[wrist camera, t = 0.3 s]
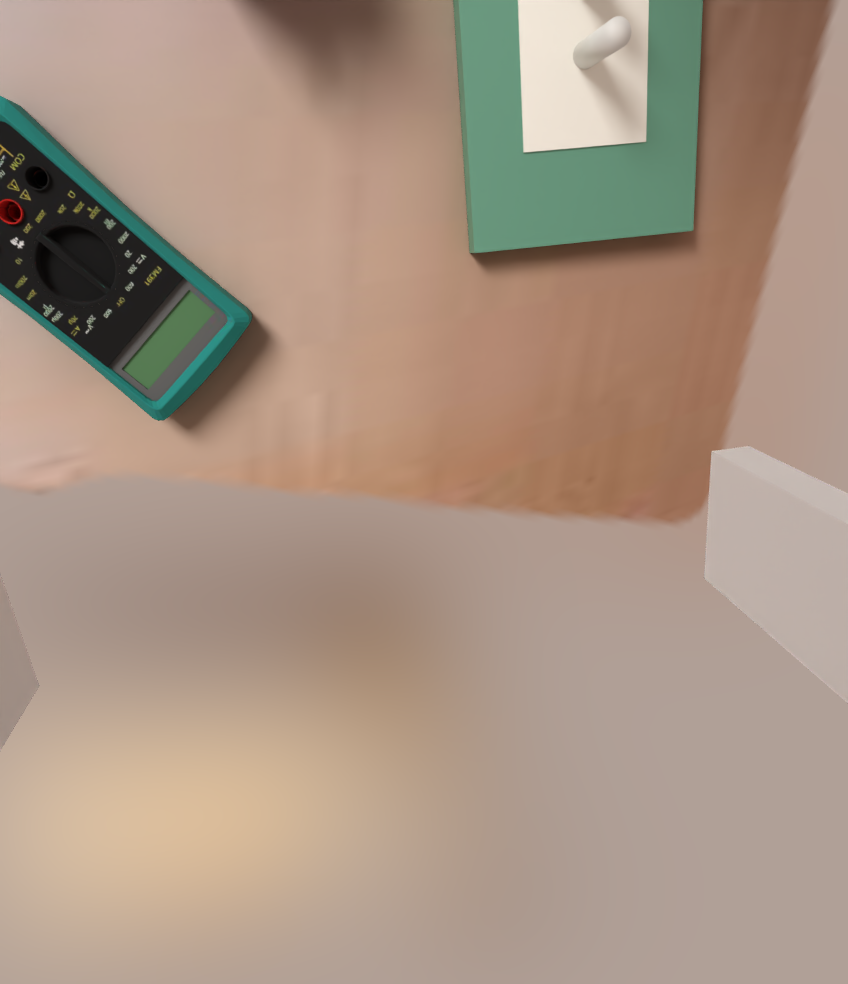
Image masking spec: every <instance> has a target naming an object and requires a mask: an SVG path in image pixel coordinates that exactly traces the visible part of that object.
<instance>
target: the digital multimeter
mask: <svg viewBox="0 0 848 984" xmlns="http://www.w3.org/2000/svg"><path fill="white" fill-rule="evenodd" d="M11 126H12V127H13V128H14V129H13V128H12V127H11ZM19 133H20V134H21V135H22V136H21V135H20V134H19ZM27 140H28V141H29V142H30V143H29V142H28V141H27ZM35 147H36V148H37V149H38V150H37V149H36V148H35ZM43 154H44V155H45V156H46V157H45V156H44V155H43ZM51 161H52V162H53V163H54V164H53V163H52V162H51ZM59 168H60V169H61V170H62V171H61V170H60V169H59ZM67 175H68V176H69V177H70V178H69V177H68V176H67ZM76 183H77V184H78V185H77V184H76ZM84 190H85V191H86V192H85V191H84ZM92 197H93V198H94V199H93V198H92ZM101 205H102V206H101ZM109 212H110V213H109ZM117 219H118V220H117ZM66 221H70V222H66ZM59 222H60V223H59ZM85 224H86V225H85ZM87 225H88V226H87ZM125 226H126V227H125ZM93 228H94V229H93ZM44 229H45V230H44ZM100 233H101V234H100ZM133 233H134V234H133ZM141 240H142V241H141ZM108 241H109V242H108ZM34 242H35V243H34ZM149 247H150V248H149ZM156 253H157V254H158V255H157V254H156ZM164 260H165V261H166V262H165V261H164ZM172 267H173V268H174V269H173V268H172ZM34 274H35V275H34ZM181 275H182V276H181ZM38 282H39V283H38ZM44 290H45V291H44ZM0 294H1V295H2V296H3V297H5V298H6V299H8V300H9V301H10V302H12V303H13V304H14V305H16V306H17V307H18V308H20V309H21V310H22V311H24V312H25V313H26V314H28V315H29V316H30V317H32V318H33V319H34V320H35V321H37V322H38V323H39V324H40V325H42V326H43V327H44V328H45V329H47V330H48V331H49V332H50V333H52V334H53V335H54V336H55V337H56V338H58V339H59V340H60V341H61V342H63V343H64V344H65V345H66V346H68V347H69V348H70V349H71V350H73V351H74V352H75V353H76V354H78V355H79V356H80V357H81V358H83V359H84V360H85V361H86V362H88V363H89V364H90V365H91V366H92V367H94V368H95V369H96V370H97V371H98V372H99V373H101V374H102V375H103V376H104V377H105V378H106V379H108V380H109V381H110V382H111V383H112V384H114V385H115V386H116V387H117V388H118V389H119V390H121V391H122V392H123V393H124V394H125V395H126V396H128V397H129V398H130V399H131V400H132V401H133V402H135V403H136V404H137V405H138V406H139V407H140V408H142V409H143V410H144V411H145V412H146V413H148V414H149V415H150V416H151V417H152V418H154V419H156V420H158V421H159V420H165V419H166V418H168V417H169V416H170V415H171V414H172V413H173V412H174V411H175V410H176V409H177V408H178V407H179V406H181V405H182V404H183V403H184V402H185V401H186V400H187V399H188V398H189V397H190V396H191V395H192V394H193V393H194V392H195V391H196V390H197V388H198V387H199V386H200V385H201V384H202V383H203V382H204V381H205V380H206V379H207V378H208V376H209V375H210V374H211V373H212V372H213V371H214V370H215V368H216V367H217V366H218V365H219V364H220V362H221V361H222V360H223V359H224V357H225V356H226V355H227V353H228V352H229V351H230V350H231V348H232V347H233V346H234V344H235V343H236V342H237V340H238V339H239V338H240V336H241V335H242V334H243V332H244V331H245V329H246V328H247V327H248V325H249V324H250V322H251V320H252V314H251V312H250V311H249V309H248V308H247V307H245V306H244V305H243V304H242V303H240V302H239V301H238V300H237V299H236V298H234V297H233V296H232V295H231V294H229V293H228V292H227V291H226V290H225V289H223V288H222V287H221V286H220V285H218V284H217V283H216V282H215V281H214V280H212V279H211V278H210V277H209V276H207V275H206V274H205V273H204V272H203V271H201V270H200V269H199V268H198V267H196V266H195V265H194V264H193V263H192V262H190V261H189V260H188V259H187V258H185V257H184V256H183V255H182V254H181V253H180V252H178V251H177V250H176V249H175V248H174V247H173V246H171V245H170V244H169V243H168V242H167V241H166V240H165V239H163V238H162V237H161V236H160V235H159V234H158V233H156V232H155V231H154V230H153V229H152V228H151V227H150V226H148V225H147V224H146V223H145V222H144V221H143V220H141V219H140V218H139V217H138V216H137V215H136V214H135V213H133V212H132V211H131V210H130V209H129V208H128V207H127V206H125V205H124V204H123V203H122V202H121V201H120V200H119V199H118V198H117V197H116V196H115V195H114V194H113V193H111V192H110V191H109V190H108V189H107V188H106V187H105V186H104V185H103V184H102V183H101V182H100V181H99V180H98V179H96V178H95V177H94V176H93V175H92V174H91V173H90V172H89V171H88V170H87V169H86V168H85V167H84V166H82V165H81V164H80V163H79V162H78V161H77V160H76V159H75V158H74V157H73V156H72V155H71V154H70V153H69V152H67V151H66V150H65V149H64V148H63V147H62V146H61V145H60V144H59V143H58V142H57V141H56V140H55V139H54V138H53V137H52V136H51V135H50V134H49V133H48V132H47V131H46V130H45V129H44V128H43V127H42V126H41V125H40V124H39V123H37V122H36V121H35V120H34V119H33V118H32V117H31V116H30V115H29V114H28V113H27V112H26V111H25V110H24V109H23V108H22V107H21V106H19V105H18V104H16V103H14V102H12V101H10V100H8V99H6V98H3V97H1V96H0ZM58 301H59V302H58ZM225 324H226V325H225ZM224 325H225V326H224ZM223 326H224V327H223Z"/></svg>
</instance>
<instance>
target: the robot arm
mask: <svg viewBox="0 0 848 984" xmlns="http://www.w3.org/2000/svg"><path fill="white" fill-rule="evenodd" d="M707 521H708V522H707V537H706V554H705V570H704V579H706V580H707V581H708V582H709V583H710V584H711V585H712V586H714V587H715V588H716V589H717V590H718V591H719V592H720V593H722V594H723V595H724V596H725V597H726V598H727V599H728V600H730V601H731V602H732V603H733V604H734V605H735V606H736V607H738V608H739V609H740V610H741V611H742V612H743V613H745V614H746V615H747V616H748V617H749V618H750V619H751V620H753V621H754V622H755V623H756V624H757V625H758V626H760V627H761V628H762V629H763V630H764V631H765V632H766V633H768V634H769V635H770V636H771V637H772V638H773V639H775V640H776V641H777V642H778V643H779V644H780V645H781V646H783V647H784V648H785V649H786V650H787V651H788V652H789V653H790V654H792V655H793V656H794V657H795V658H796V659H797V660H799V661H800V662H801V663H802V664H803V665H804V666H805V667H807V668H808V669H809V670H810V671H811V672H812V673H814V674H815V675H816V676H817V677H818V678H819V679H820V680H822V681H823V682H824V683H825V684H826V685H827V686H828V687H830V688H831V689H832V690H833V691H834V692H835V693H837V694H838V695H839V696H840V697H841V698H842V699H843V700H845V701H846V702H847V703H848V493H846V492H844V491H842V490H840V489H837V488H835V487H833V486H831V485H829V484H827V483H825V482H822V481H821V480H819V479H816V478H815V477H812V476H810V475H808V474H806V473H804V472H802V471H800V470H798V469H796V468H794V467H792V466H789V465H787V464H785V463H783V462H781V461H779V460H777V459H775V458H773V457H771V456H768V455H766V454H764V453H762V452H760V451H758V450H756V449H754V448H752V447H750V446H745V447H738V448H731V449H724V450H717V451H712V453H711V469H710V486H709V503H708V520H707ZM38 687H39V683H38V680H37V678H36V675H35V672H34V669H33V666H32V663H31V661H30V658H29V655H28V652H27V649H26V646H25V643H24V640H23V637H22V635H21V632H20V629H19V626H18V623H17V620H16V617H15V614H14V612H13V609H12V606H11V603H10V600H9V597H8V594H7V592H6V589H5V586H4V583H3V580H2V577H1V574H0V750H1V749H2V747H3V745H4V744H5V742H6V740H7V739H8V737H9V735H10V734H11V732H12V730H13V729H14V727H15V725H16V724H17V722H18V720H19V719H20V717H21V716H22V714H23V712H24V711H25V709H26V707H27V705H28V704H29V702H30V701H31V699H32V697H33V696H34V694H35V692H36V691H37V689H38Z"/></svg>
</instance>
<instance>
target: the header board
mask: <svg viewBox="0 0 848 984" xmlns="http://www.w3.org/2000/svg"><path fill="white" fill-rule="evenodd" d="M453 5H454V20H455V35H456V51H457V66H458V81H459V97H460V112H461V128H462V143H463V158H464V174H465V189H466V204H467V220H468V235H469V251H470V253H482V252H491V251H501V250H511V249H520V248H530V247H540V246H550V245H559V244H569V243H579V242H588V241H598V240H608V239H618V238H627V237H637V236H647V235H656V234H666V233H676V232H685V231H693V223H694V199H695V176H696V152H697V128H698V105H699V81H700V57H701V34H702V10H703V0H453Z"/></svg>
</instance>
